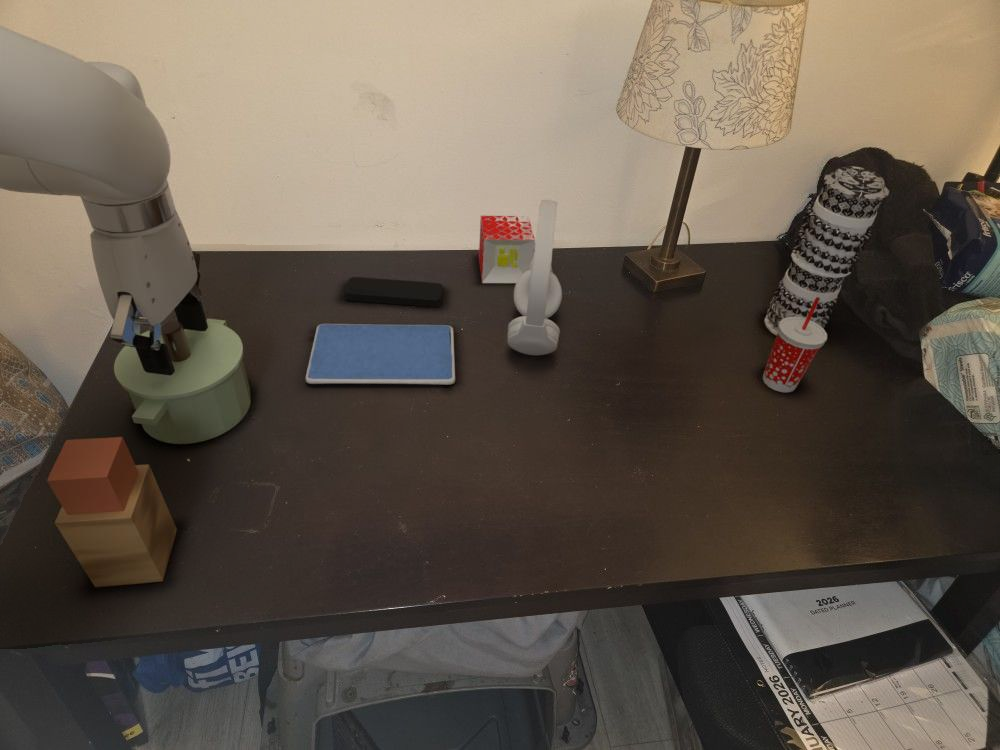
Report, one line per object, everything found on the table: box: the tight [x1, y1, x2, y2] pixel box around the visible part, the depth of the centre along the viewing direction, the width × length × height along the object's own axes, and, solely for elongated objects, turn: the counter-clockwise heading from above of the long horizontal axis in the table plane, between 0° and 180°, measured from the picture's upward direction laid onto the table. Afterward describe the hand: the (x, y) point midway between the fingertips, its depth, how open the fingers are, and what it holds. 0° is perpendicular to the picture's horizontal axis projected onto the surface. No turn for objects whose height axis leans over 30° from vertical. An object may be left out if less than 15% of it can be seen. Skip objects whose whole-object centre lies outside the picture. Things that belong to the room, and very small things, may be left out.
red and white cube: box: [478, 215, 536, 284], centre depth 106 cm, size 8×8×8 cm
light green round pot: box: [125, 318, 252, 445], centre depth 77 cm, size 13×18×8 cm
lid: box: [113, 320, 245, 399], centre depth 73 cm, size 14×14×5 cm
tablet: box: [305, 323, 456, 386], centre depth 88 cm, size 19×13×1 cm, turn 94°
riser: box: [54, 464, 178, 588], centre depth 60 cm, size 6×6×10 cm
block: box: [46, 436, 138, 515], centre depth 55 cm, size 4×4×4 cm
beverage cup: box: [762, 297, 828, 393], centre depth 86 cm, size 6×6×14 cm
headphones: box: [506, 199, 563, 356], centre depth 88 cm, size 7×18×20 cm, turn 174°
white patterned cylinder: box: [763, 165, 890, 336], centre depth 93 cm, size 9×9×25 cm
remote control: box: [343, 276, 445, 308], centre depth 100 cm, size 5×2×15 cm
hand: (177, 348), depth 74 cm, fingers open, 7 cm apart
